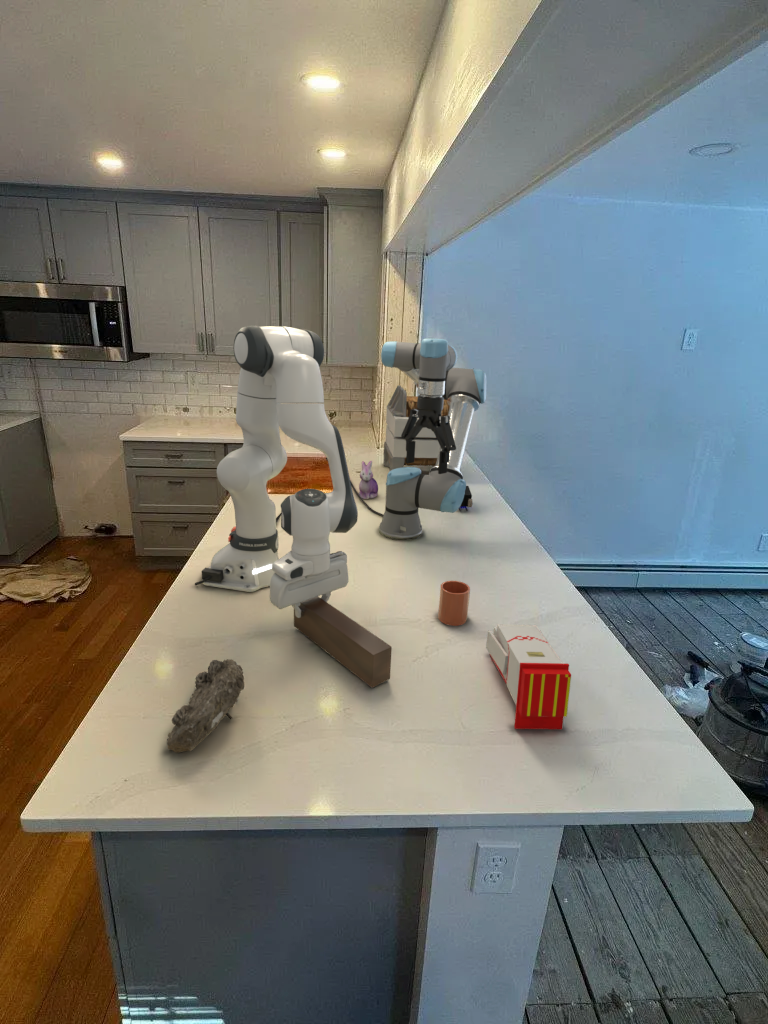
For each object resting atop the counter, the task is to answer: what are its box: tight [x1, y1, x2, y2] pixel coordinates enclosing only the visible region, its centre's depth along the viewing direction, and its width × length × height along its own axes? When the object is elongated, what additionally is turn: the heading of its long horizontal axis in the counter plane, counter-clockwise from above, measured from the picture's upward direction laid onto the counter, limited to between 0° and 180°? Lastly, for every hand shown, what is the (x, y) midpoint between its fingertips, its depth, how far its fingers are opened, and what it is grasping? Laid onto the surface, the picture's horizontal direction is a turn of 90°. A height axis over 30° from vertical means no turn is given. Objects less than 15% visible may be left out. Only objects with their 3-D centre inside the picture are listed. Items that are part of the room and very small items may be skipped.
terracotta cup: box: [437, 580, 471, 627], centre depth 145 cm, size 7×7×9 cm
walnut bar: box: [293, 596, 393, 688], centre depth 128 cm, size 5×30×8 cm, turn 41°
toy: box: [485, 623, 572, 730], centre depth 120 cm, size 12×13×30 cm
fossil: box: [166, 658, 245, 754], centre depth 106 cm, size 22×10×15 cm
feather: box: [276, 512, 281, 524], centre depth 213 cm, size 2×28×2 cm
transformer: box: [383, 384, 462, 473], centre depth 268 cm, size 34×33×41 cm
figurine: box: [358, 460, 379, 500], centre depth 236 cm, size 9×10×15 cm
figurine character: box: [458, 485, 473, 512], centre depth 229 cm, size 7×8×15 cm
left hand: (310, 612), depth 136 cm, fingers closed on walnut bar, 5 cm apart
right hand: (425, 467), depth 168 cm, fingers open, 13 cm apart
